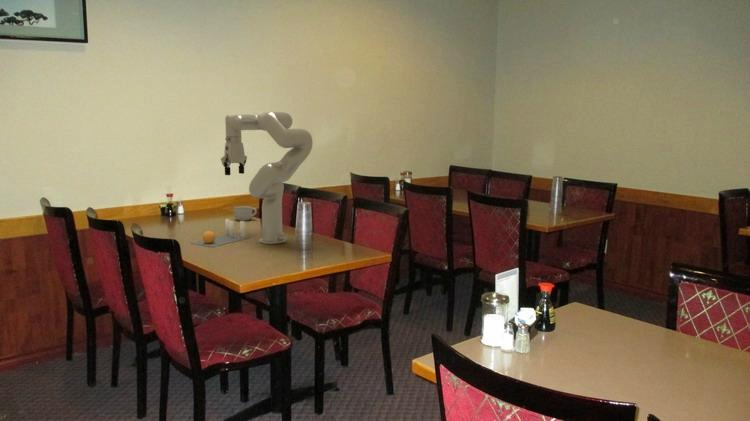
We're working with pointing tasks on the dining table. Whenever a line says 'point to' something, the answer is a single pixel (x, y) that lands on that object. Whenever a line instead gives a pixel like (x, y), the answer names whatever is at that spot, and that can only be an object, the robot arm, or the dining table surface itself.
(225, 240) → the gray flat board
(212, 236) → the ball
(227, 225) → the back pin right
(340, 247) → the dining table surface
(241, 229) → the back pin left
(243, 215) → the teacup
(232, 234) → the front pin
